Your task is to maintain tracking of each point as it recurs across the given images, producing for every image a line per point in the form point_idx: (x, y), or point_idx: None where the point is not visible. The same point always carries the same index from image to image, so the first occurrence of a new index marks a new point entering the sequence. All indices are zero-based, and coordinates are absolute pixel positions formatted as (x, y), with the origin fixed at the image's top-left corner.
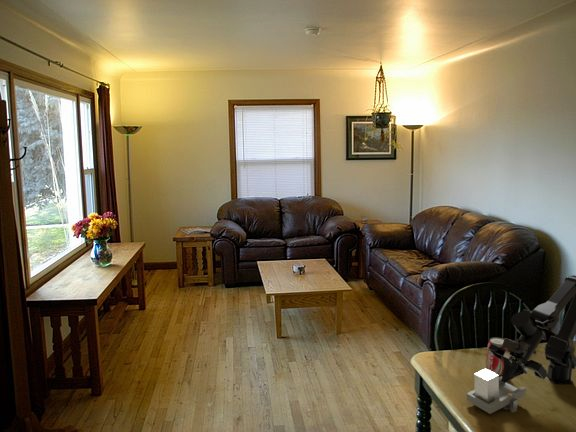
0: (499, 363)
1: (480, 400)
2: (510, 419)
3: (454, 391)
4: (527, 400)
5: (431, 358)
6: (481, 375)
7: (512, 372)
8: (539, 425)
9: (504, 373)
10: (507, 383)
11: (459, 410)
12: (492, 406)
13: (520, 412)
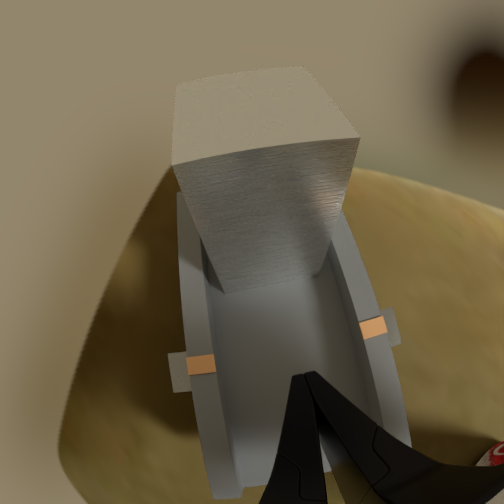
0: None
1: None
2: (151, 304)
3: (414, 222)
4: (256, 497)
5: None
6: (258, 78)
7: (272, 480)
8: (83, 379)
9: (338, 416)
10: None
11: None
12: (178, 209)
13: (177, 393)
